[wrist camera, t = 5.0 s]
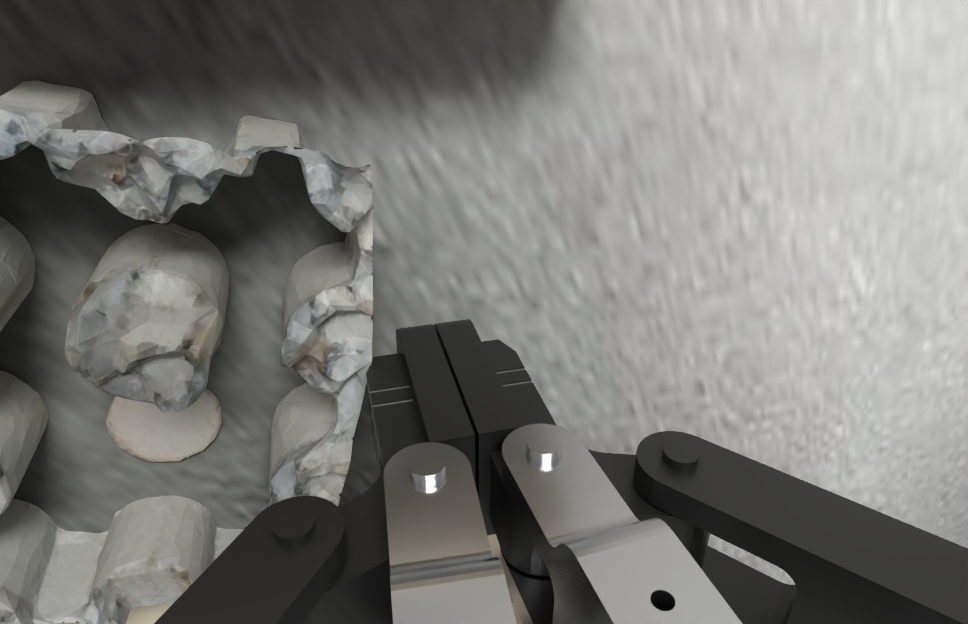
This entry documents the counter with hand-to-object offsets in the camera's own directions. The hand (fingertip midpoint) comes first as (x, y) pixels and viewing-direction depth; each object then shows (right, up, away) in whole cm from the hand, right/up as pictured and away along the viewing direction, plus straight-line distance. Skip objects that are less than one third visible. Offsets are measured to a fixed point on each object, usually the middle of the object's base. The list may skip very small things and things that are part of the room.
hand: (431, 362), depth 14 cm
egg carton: (-6, 0, 0) cm, 6 cm away
